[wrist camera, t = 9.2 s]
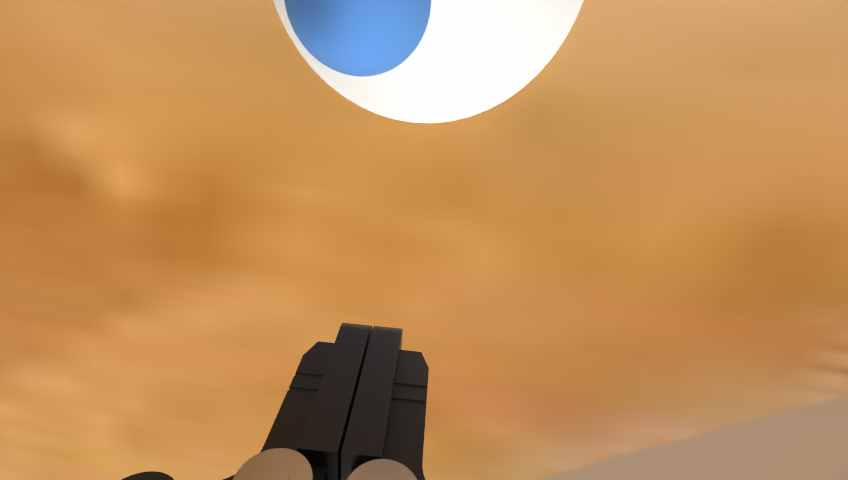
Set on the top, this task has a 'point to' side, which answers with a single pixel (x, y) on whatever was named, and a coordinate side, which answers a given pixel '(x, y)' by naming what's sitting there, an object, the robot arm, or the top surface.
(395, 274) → the top surface
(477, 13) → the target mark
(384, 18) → the ball
